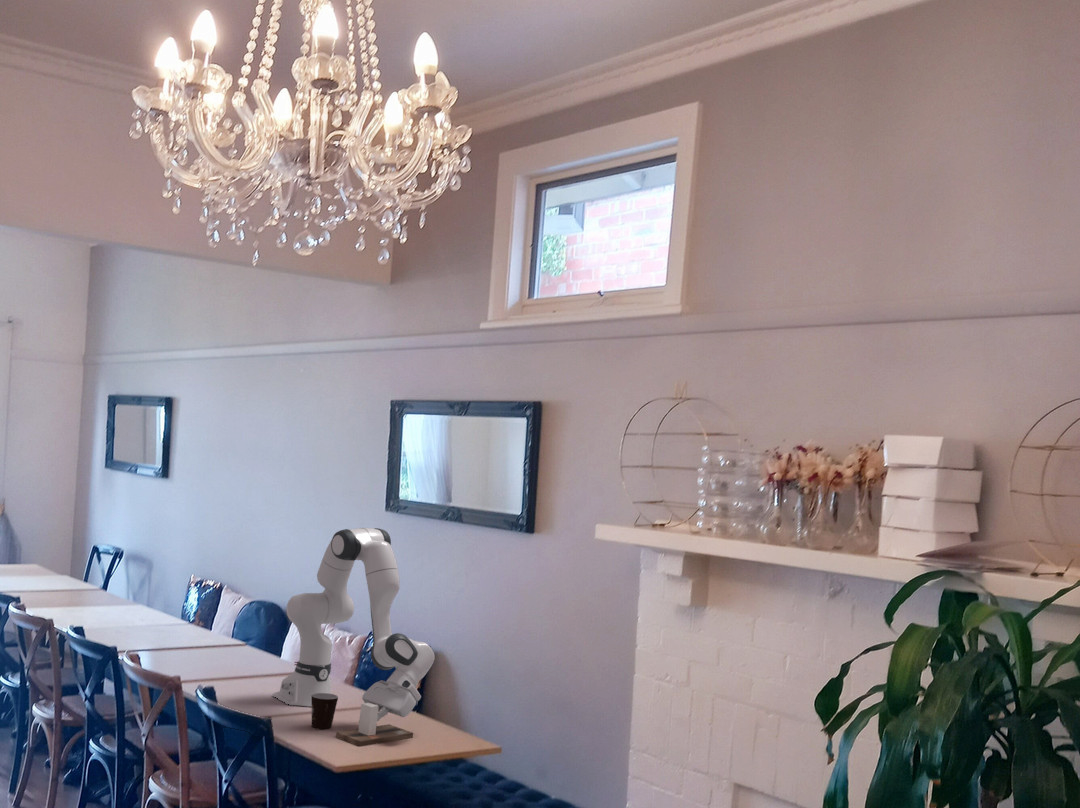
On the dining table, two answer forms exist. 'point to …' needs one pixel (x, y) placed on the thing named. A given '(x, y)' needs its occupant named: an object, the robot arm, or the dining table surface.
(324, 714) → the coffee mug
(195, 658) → the dining table surface
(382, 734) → the switch board
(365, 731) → the switch tab
